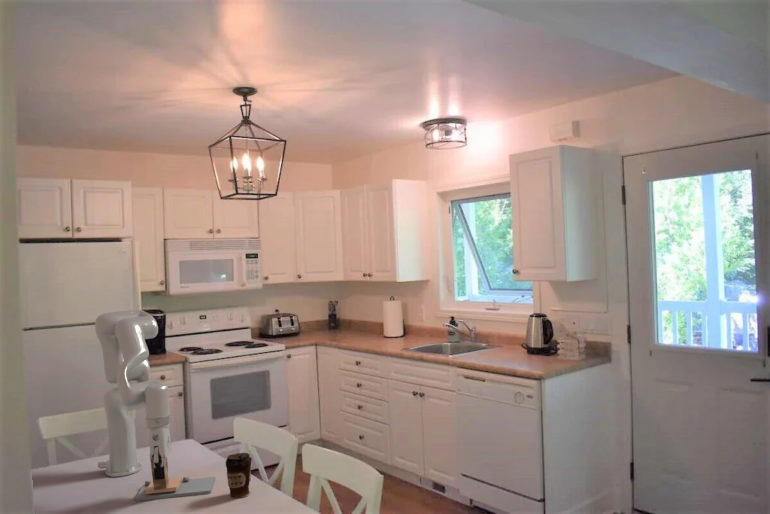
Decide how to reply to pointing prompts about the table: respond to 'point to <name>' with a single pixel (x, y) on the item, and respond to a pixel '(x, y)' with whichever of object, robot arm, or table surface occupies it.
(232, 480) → the coffee cup
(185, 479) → the board
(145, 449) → the table surface
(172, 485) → the tile
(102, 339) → the robot arm
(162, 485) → the walnut block
